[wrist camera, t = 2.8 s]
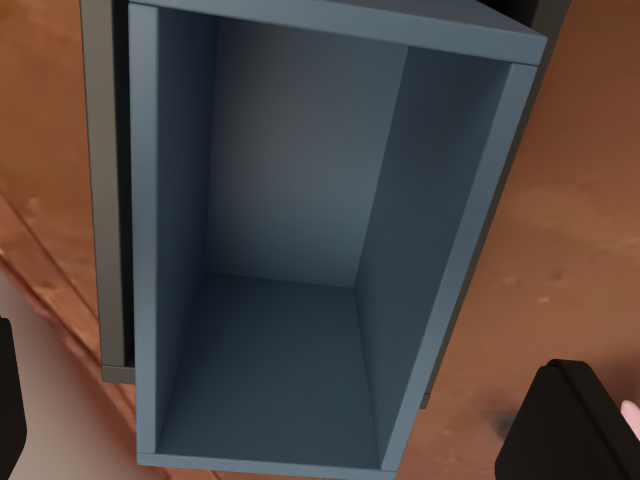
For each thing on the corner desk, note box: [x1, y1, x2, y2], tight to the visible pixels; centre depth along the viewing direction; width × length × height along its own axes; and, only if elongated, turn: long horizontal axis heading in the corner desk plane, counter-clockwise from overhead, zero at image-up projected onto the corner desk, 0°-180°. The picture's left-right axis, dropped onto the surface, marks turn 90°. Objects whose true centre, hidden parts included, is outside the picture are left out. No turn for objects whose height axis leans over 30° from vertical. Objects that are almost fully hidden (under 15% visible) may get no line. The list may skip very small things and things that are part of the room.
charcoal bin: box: [79, 0, 571, 409], centre depth 18 cm, size 16×12×5 cm
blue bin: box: [128, 0, 548, 480], centre depth 16 cm, size 12×7×9 cm, turn 171°
